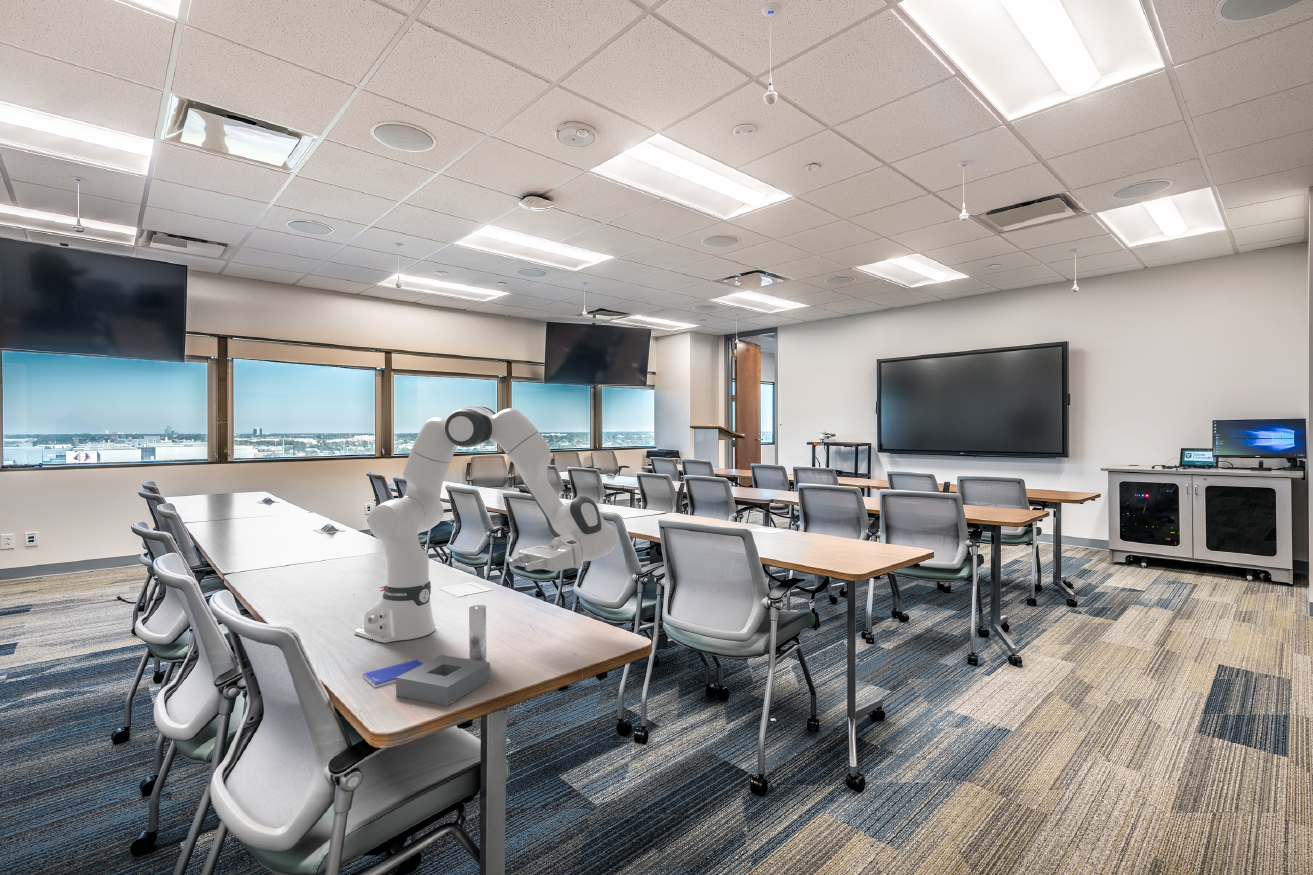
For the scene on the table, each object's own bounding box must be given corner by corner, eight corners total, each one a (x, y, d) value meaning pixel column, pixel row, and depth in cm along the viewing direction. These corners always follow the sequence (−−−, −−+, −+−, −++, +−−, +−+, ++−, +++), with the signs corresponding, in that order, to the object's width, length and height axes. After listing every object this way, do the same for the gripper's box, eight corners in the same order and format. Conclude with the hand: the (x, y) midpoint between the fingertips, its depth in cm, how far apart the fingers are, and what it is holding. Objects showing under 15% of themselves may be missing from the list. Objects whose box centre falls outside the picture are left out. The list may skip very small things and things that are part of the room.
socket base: (396, 695, 126) (396, 677, 126) (442, 671, 139) (441, 654, 139) (447, 706, 121) (447, 686, 121) (490, 679, 134) (490, 662, 134)
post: (466, 665, 143) (465, 608, 143) (476, 659, 146) (476, 604, 146) (479, 667, 141) (478, 610, 141) (489, 661, 145) (489, 605, 145)
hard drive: (375, 683, 130) (429, 667, 139) (362, 672, 136) (416, 658, 145) (375, 690, 130) (429, 674, 139) (362, 679, 136) (416, 664, 145)
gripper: (544, 537, 167) (499, 549, 159) (581, 543, 151) (534, 557, 143) (547, 559, 167) (503, 572, 159) (585, 567, 151) (537, 582, 143)
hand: (518, 565), depth 151 cm, fingers open, 8 cm apart
